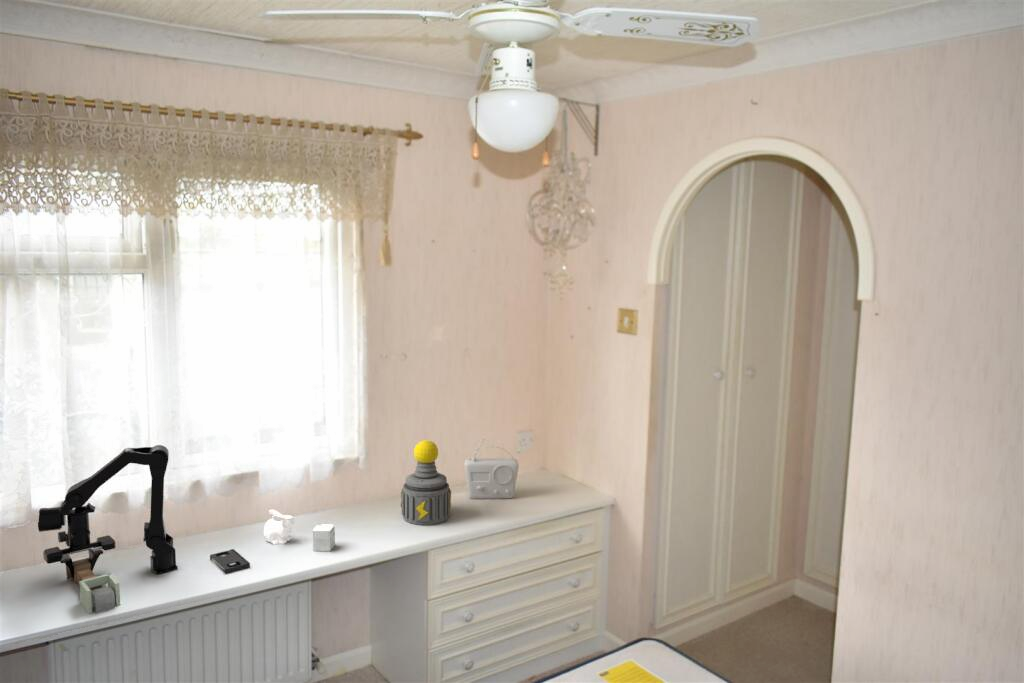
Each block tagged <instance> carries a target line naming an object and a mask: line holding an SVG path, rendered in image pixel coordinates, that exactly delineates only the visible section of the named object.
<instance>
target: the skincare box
mask: <svg viewBox="0 0 1024 683" xmlns="http://www.w3.org/2000/svg"><path fill="white" fill-rule="evenodd" d="M335 528H336V527H335V524H323V523H322V524H320V523H319V524H317V525H316V526H314V528H313V530H312V551H313V552H331V551H332V549H333V548H334V547H335V545H336V531H335Z"/></svg>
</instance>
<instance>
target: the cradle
mask: <svg viewBox="0 0 1024 683" xmlns="http://www.w3.org/2000/svg"><path fill="white" fill-rule="evenodd" d="M99 585H101V588H103V587H107V586H110V587H111V588H112V590H113V591H114V596H115V607H116V606H117V607H118V606H120V605H121V593H120V582H119V580H117V579H116V577H115V576H114V575H113V574H112V573H106V574H102V575H99V576H96V577H94V578H90V579H86V580H82V581H79V584H78V586H79V599H80V600H79V601H80V604H81V606H82V607H83V608H84V610H85V612H86V613H88V614H92V613H93V609H92V602H91V590H90V589H89V588H92V587H95V586H99Z"/></svg>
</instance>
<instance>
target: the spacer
mask: <svg viewBox="0 0 1024 683" xmlns="http://www.w3.org/2000/svg"><path fill="white" fill-rule="evenodd" d="M91 602H92V611H93V612H94V613H95V614H99V613H104V612H107V611H110V610H113V609H116V604H115V596H114V591H113V590H112V588H111V587H110V586H108V585H106V587H103V588H99V589H95V590H91Z"/></svg>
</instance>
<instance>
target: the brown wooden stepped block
mask: <svg viewBox="0 0 1024 683" xmlns="http://www.w3.org/2000/svg"><path fill="white" fill-rule="evenodd" d="M72 563H73V569H74V578H72V577H71V574H70V572H69V570H68V568H67V566H66V565H65V571H66V580H73V582H74V583H75V584H77V585H79V581H82V580H86V579H90V578H94V577H97V576H96V575H95V573H94V572H93V571H91V563H90V562H89V557H86V558H82V559H77V560H72ZM99 588H101V585H99V586H95V587H92V588H89V589H90V590H95V589H99Z"/></svg>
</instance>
